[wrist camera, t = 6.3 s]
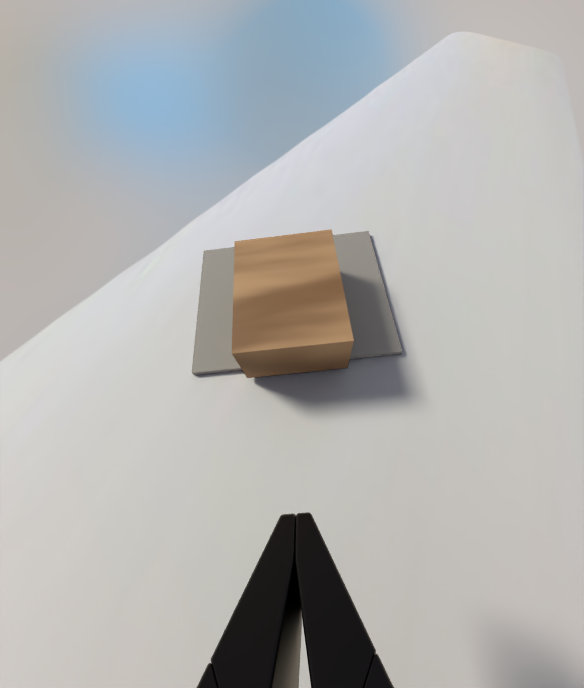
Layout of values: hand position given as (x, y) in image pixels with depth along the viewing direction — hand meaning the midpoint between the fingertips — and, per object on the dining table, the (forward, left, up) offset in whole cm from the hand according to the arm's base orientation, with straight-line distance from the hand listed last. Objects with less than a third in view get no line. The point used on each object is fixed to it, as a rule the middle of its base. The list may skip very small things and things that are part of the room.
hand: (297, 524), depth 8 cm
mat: (+14, -4, -9) cm, 18 cm away
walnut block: (+8, -2, -7) cm, 11 cm away
